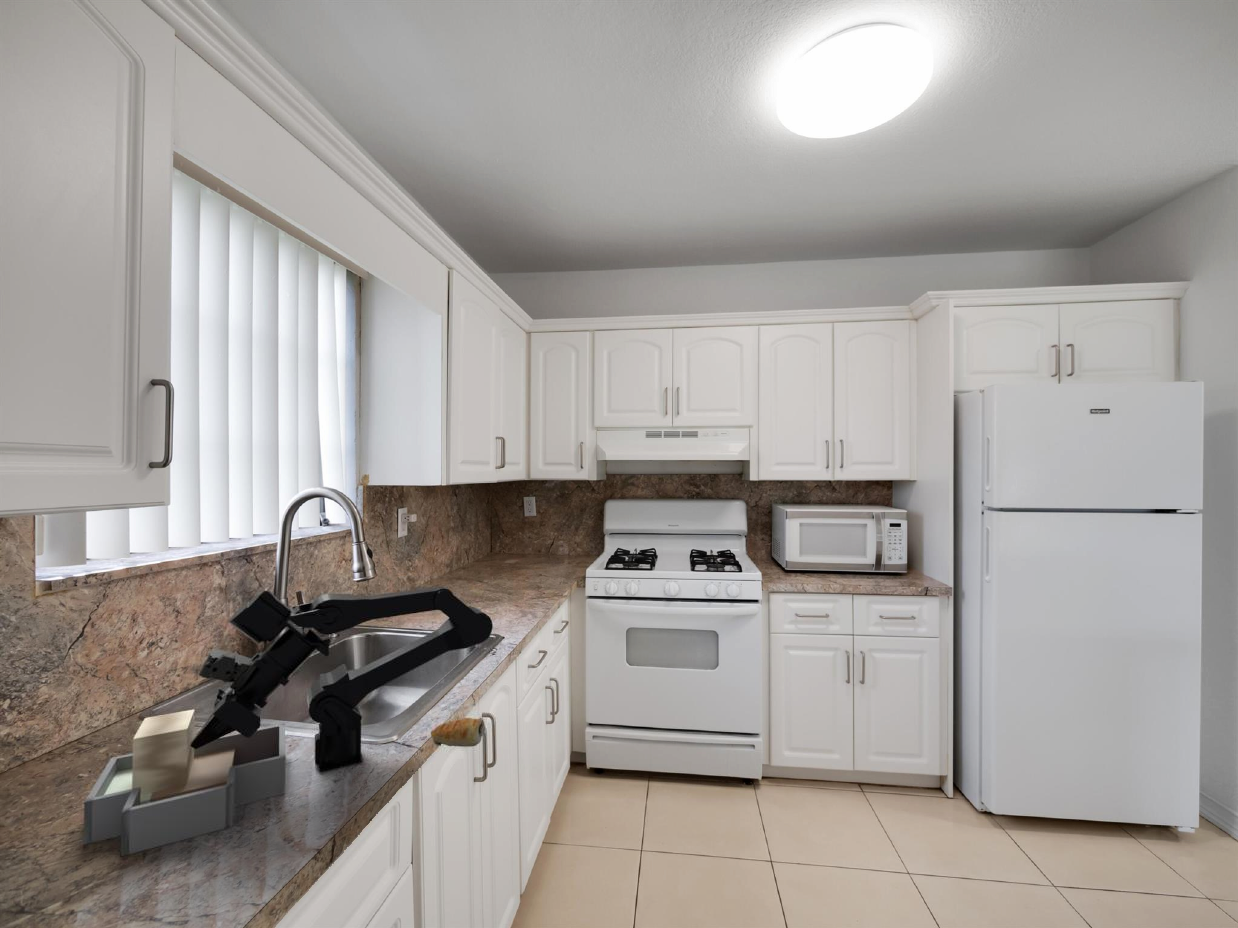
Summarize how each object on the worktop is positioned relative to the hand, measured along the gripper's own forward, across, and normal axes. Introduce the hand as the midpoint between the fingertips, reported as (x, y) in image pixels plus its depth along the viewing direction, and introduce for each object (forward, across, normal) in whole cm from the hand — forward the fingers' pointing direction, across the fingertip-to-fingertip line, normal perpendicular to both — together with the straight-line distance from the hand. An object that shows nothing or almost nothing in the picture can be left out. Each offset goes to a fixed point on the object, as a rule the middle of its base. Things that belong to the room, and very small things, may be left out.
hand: (193, 746), depth 84 cm
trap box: (+5, +3, +6) cm, 8 cm away
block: (+5, 0, 0) cm, 5 cm away
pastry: (-23, +3, +33) cm, 40 cm away
